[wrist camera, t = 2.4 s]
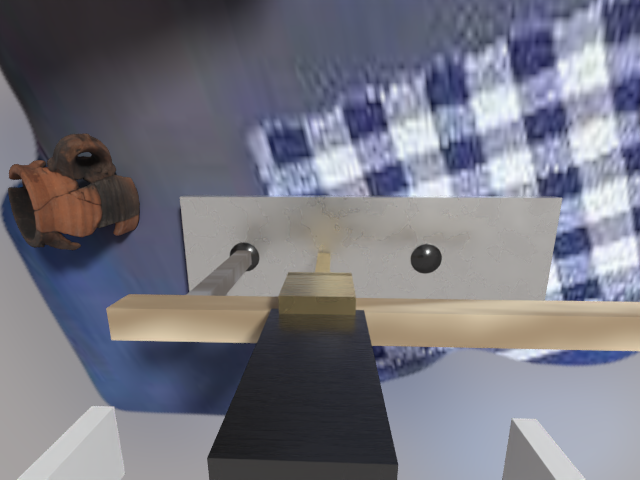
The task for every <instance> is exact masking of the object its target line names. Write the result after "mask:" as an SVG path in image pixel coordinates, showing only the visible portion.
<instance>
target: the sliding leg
mask: <svg viewBox="0 0 640 480" xmlns="http://www.w3.org/2000/svg"><path fill="white" fill-rule="evenodd" d="M278 300H279V309H271V311H270V313H269V316H268V318H267V320H266V323H265V325H264V327H263V330H262V332H261V334H260V337H259V339H258V341H257V344H256V346H255V348H254V351H253V353H252V355H251V358H250V360H249V362H248V365H247V367H246V369H245V372H244V374H243V376H242V379H241V381H240V383H239V386H238V388H237V390H236V393H235V395H234V397H233V399H232V402H231V404H230V406H229V409H228V411H227V413H226V416H225V418H224V421H223V423H222V425H221V427H220V430H219V432H218V434H217V437H216V439H215V441H214V444H213V446H212V448H211V451H210V453H209V455H208V458H207V460H208V470H209V480H397V473H398V462H397V457H396V453H395V448H394V444H393V439H392V435H391V430H390V426H389V421H388V417H387V412H386V408H385V403H384V399H383V394H382V389H381V385H380V380H379V376H378V371H377V367H376V362H375V358H374V353H373V349H372V344H371V340H370V335H369V330H368V326H367V321H366V317H365V312H364V310H356V295H355V289H354V283H353V278H352V273H333V272H330V253H318V256H317V262H316V268H315V272H288V274H287V277H286V279H285V281H284V284H283V286H282V288H281V291H280V293H279V296H278Z"/></svg>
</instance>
